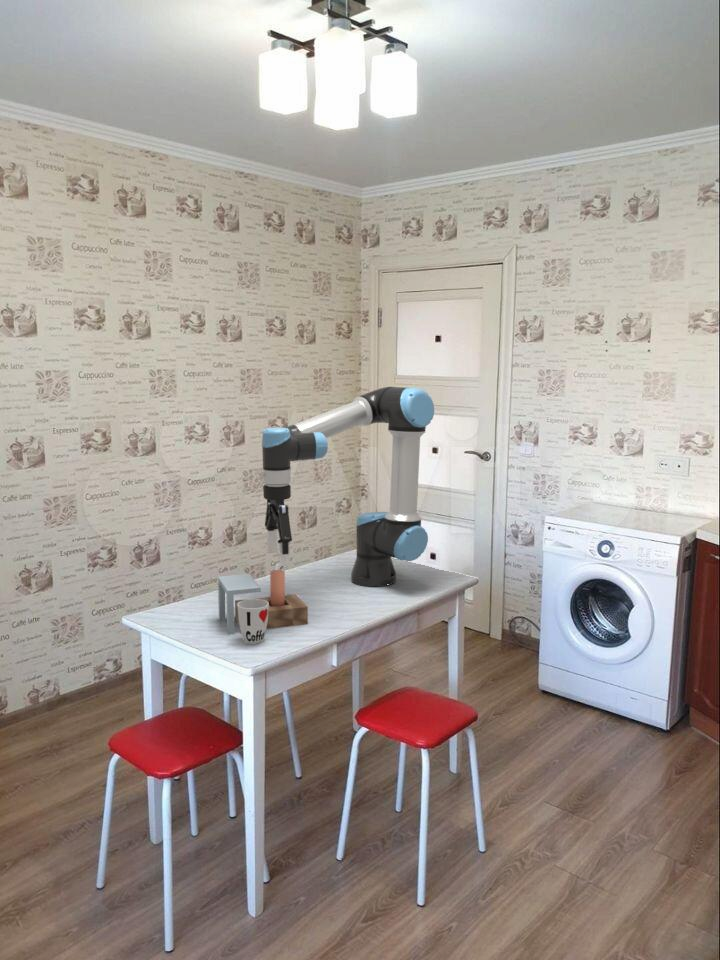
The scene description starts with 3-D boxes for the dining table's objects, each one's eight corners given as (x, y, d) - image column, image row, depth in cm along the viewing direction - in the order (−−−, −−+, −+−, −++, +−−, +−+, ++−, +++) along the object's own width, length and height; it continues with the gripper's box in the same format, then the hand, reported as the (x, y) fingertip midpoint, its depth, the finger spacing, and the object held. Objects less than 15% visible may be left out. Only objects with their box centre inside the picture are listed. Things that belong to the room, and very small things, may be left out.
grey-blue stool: (249, 614, 219) (249, 573, 217) (261, 630, 206) (260, 587, 204) (218, 617, 216) (218, 576, 214) (228, 634, 203) (227, 590, 201)
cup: (242, 647, 194) (241, 610, 192) (234, 637, 201) (233, 600, 200) (272, 643, 197) (272, 606, 196) (264, 632, 205) (263, 597, 203)
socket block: (295, 610, 223) (295, 594, 222) (307, 623, 212) (307, 606, 211) (235, 617, 216) (234, 600, 216) (244, 631, 205) (243, 613, 205)
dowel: (282, 616, 217) (282, 569, 215) (286, 621, 214) (286, 573, 211) (269, 618, 216) (268, 570, 214) (272, 622, 212) (272, 574, 210)
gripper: (253, 477, 219) (255, 549, 222) (274, 493, 196) (276, 572, 199) (278, 476, 221) (279, 546, 225) (302, 491, 198) (303, 569, 202)
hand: (278, 558), depth 212 cm, fingers open, 13 cm apart
